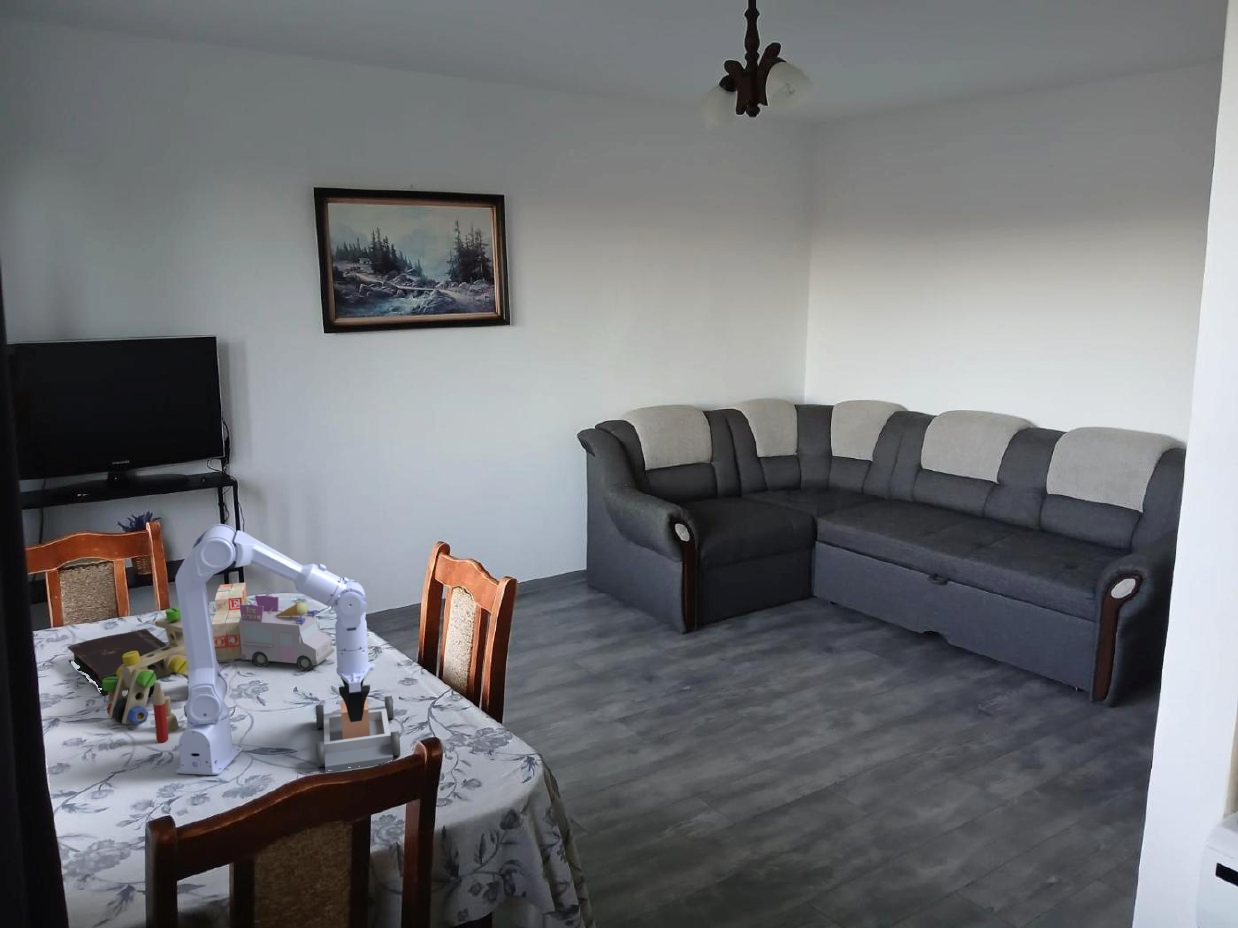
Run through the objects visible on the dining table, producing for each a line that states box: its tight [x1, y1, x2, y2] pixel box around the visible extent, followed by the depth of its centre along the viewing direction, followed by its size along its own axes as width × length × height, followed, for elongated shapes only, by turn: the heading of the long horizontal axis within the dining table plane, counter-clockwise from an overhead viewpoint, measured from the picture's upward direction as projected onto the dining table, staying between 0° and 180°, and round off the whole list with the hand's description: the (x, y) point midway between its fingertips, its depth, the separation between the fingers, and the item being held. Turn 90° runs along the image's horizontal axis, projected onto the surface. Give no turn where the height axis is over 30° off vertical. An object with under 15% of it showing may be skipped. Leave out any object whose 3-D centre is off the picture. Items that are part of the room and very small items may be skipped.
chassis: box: [315, 695, 401, 773], centre depth 182 cm, size 22×15×4 cm
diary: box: [67, 628, 178, 697], centre depth 215 cm, size 19×25×5 cm
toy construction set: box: [102, 606, 189, 744], centre depth 191 cm, size 27×22×21 cm
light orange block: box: [340, 698, 370, 739], centre depth 181 cm, size 5×5×6 cm
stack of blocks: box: [211, 582, 249, 662], centre depth 229 cm, size 21×6×12 cm, turn 17°
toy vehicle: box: [239, 594, 335, 672], centre depth 217 cm, size 9×20×15 cm, turn 78°
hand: (355, 711), depth 181 cm, fingers open, 7 cm apart
